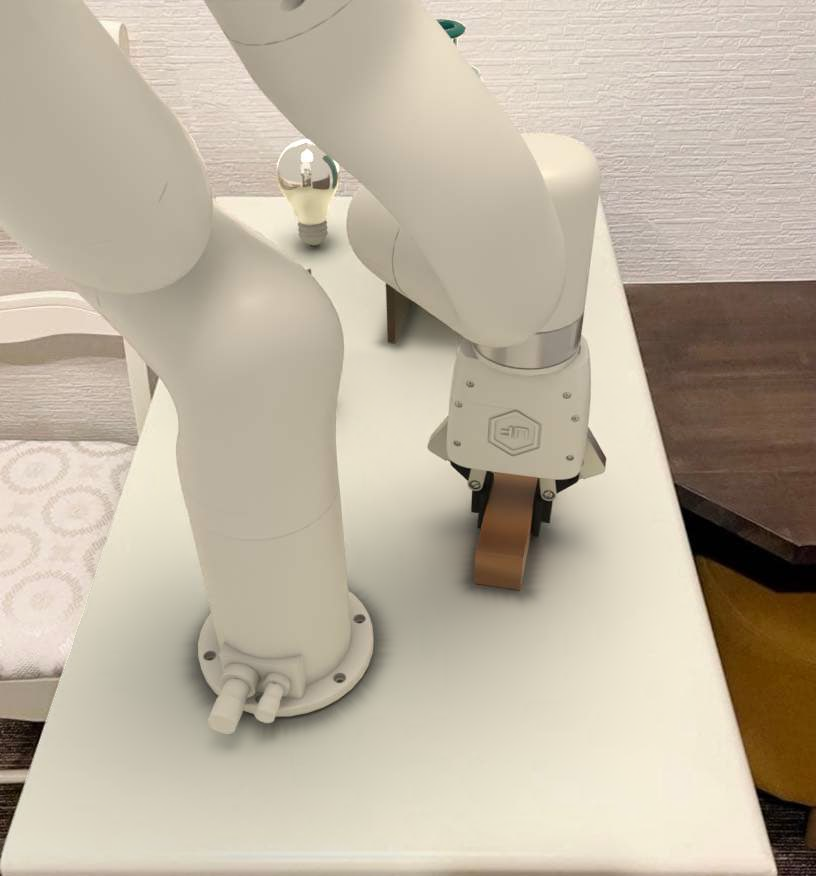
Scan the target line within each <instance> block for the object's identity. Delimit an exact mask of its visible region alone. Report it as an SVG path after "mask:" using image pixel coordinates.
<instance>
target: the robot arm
mask: <svg viewBox="0 0 816 876" xmlns="http://www.w3.org/2000/svg"><path fill="white" fill-rule="evenodd" d="M203 2H204V4H205V5H206V7H207V9H208V10H209V12H210V14H211V15H212V17H213V18H214V19H215V21H216V23H217V24H218V26H219V27H220V30H221V31H222V32H223V34H224V36H225V37H226V39H227V41H228V42H229V44H230V45H231V47H232V49H233V50H234V52H235V53H236V55H237V57H238V58H239V60H240V62H241V63H242V65H243V67H244V68H245V70H246V72H247V73H248V75H249V76H250V78H251V80H252V81H253V83H254V84H255V85H256V86H257V88H258V89H259V90H260V92H262V94H263V95H264V96H265V98H267V100H269V101H270V103H272V104H273V106H274V107H275V108H276V109H277V110H278V112H280V113H281V114H282V115H283V116H284V117H285V119H286V120H287V121H288V122H289V123H290V124H291V125H292V126H294V128H295V129H296V130H297V131H298V132H299V133H300V134H302V135H303V136H304V137H305V138H306V139H308V140H310V141H311V142H312V143H313V144H314V145H316V146H317V147H318V148H319V149H320V150H322V151H323V152H324V153H325V154H327V155H328V156H329V157H330V158H332V159H333V160H334V161H335V162H336V163H338V165H339V167H341V168H343V170H345V171H346V172H347V173H348V174H349V175H351V176H352V177H353V178H354V179H355V180H356V181H357V182H359V184H360V186H359V187H358V188H357V189H356V191H355V193H354V195H353V196H352V198H351V200H350V204H349V206H348V208H347V214H346V220H345V221H346V224H345V227H346V234H347V235H346V236H347V239H348V242H349V245H350V247H351V249H352V251H353V253H354V255H355V256H356V258H357V259H358V260H359V262H360V263H361V264H362V265H363V266H364V268H366V269H367V270H368V271H370V272H371V274H373V275H374V276H376V277H377V278H378V279H380V280H381V281H382V282H384V283H385V284H386V283H387V284H388V285H390V286H391V287H393V288H394V289H395V290H397V291H398V292H400V293H401V294H403V295H404V296H405V297H407V298H408V299H410V300H412V302H414V303H415V304H417V305H418V306H420V307H421V308H422V309H423V310H425V311H427V312H428V313H429V314H431V315H432V316H433V317H435V318H436V319H438V320H439V321H440V322H442V323H443V324H445V325H446V326H447V327H449V328H450V329H451V330H453V331H454V332H456V333H457V334H458V335H460V336H461V337H462V338H461V340H460V342H459V344H458V345H459V346H458V348H457V352H456V355H455V360H454V365H453V371H452V376H451V384H450V385H451V386H450V393H449V403H448V415H447V416H446V417H445V418H444V419H443V420H442V422H440V424H439V425H438V426H437V427H436V429H435V430H434V431H433V432H432V434H431V435H430V437H429V441H428V443H427V450H428V451H429V452H431V453H432V454H434V455H435V456H437V457H439V458H440V459H442V460H444V461H445V462H449V464H450V466H451V467H452V468H453V469H454V470H455V471H456V472H457V473H458V474H459V475H461V476H462V477H463V478H464V479H465V480H466V481H467V487H468V488H469V489H470V490H471V501H470V502H471V503H470V505H471V506H470V513H474V514H477V529H478V530H481V527H482V523H483V519H484V515H485V510H486V506H487V503H488V500H489V496H490V492H491V488H492V484H493V479H494V473H495V472H500V473H507V474H515V475H522V476H530V477H538V480H537V485H536V490H535V495H534V500H533V515H532V524H531V536H532V537H533V538H534V537H536V538H539V536H540V532H541V526H542V523H545V524H550V523H551V519H552V518H551V517H552V512H553V511H552V510H553V504H554V503H553V501H554V500H555V499H556V498H557V495H558V494H559V493H561V492H563V491H564V490H566V489H568V488H570V487H572V486H574V485H575V484H577V483H578V482H579V481H580V480H586V479H589V478H592V477H596V476H599V475H602V474H603V473H605V472H606V467H607V457H606V455H605V452H604V451H603V449H602V448H601V446H600V445H599V442H598V441H597V438H595V436H594V434H593V432H592V430H591V428H590V426H589V422H590V421H589V420H590V414H591V413H590V412H591V411H590V410H591V395H592V370H591V369H592V368H591V356H590V348H589V343H588V340H587V339H586V338H585V337H584V335H582V333H583V325H584V317H585V309H586V300H587V293H588V285H589V276H590V269H591V262H592V255H593V245H594V237H595V230H596V224H597V223H596V222H597V215H598V207H599V199H600V192H601V181H602V173H601V165H600V162H599V160H598V158H597V156H596V154H595V153H594V151H593V150H592V149H591V148H590V147H589V146H588V145H586V144H585V143H583V142H581V141H580V140H577V139H576V138H573V137H570V136H566V135H562V134H558V133H550V132H525V133H520V131H519V130H518V128H517V126H516V125H515V124H514V122H513V121H512V119H511V118H510V117H509V115H508V114H507V112H506V111H505V109H504V108H503V107H502V106H501V104H500V103H499V102H498V100H497V99H496V97H495V96H494V95H493V93H492V92H491V91H490V90H489V88H488V87H487V86H486V84H485V83H484V81H483V82H482V81H481V79H480V78H479V77H478V75H477V74H476V73H475V71H474V70H473V69H472V67H471V66H470V65H471V64H470V63H469V62H468V60H467V59H466V58H465V56H464V55H463V53H462V52H461V50H460V49H459V48H457V46H456V45H455V43H454V42H453V41H452V39H451V38H450V37H449V35H448V34H447V33H446V31H445V30H444V29H443V28H442V26H441V25H440V24H439V23H438V22H437V20H436V19H437V18H435V17H434V16H433V14H432V13H431V12H430V11H429V9H428V8H427V7H426V6H425V5H424V3H423V1H422V0H203ZM103 25H104V24H102V23H101V22H100V20H99V19H98V18H97V16H96V15H95V14H94V12H93V11H92V10H91V8H89V7H88V5H87V3H85V1H84V0H0V229H1V230H2V232H4V233H5V235H7V236H8V238H10V239H11V240H12V241H13V242H14V243H15V244H17V245H18V246H19V247H20V248H21V249H23V250H24V251H25V252H26V253H27V254H29V256H30V257H32V258H33V259H35V260H36V261H38V262H39V263H40V264H43V265H44V266H46V267H47V268H48V269H50V270H52V271H53V273H54V274H56V275H57V276H58V277H59V278H60V279H61V280H62V281H64V282H65V283H66V284H67V285H68V286H69V287H70V288H71V289H72V290H73V291H75V293H77V294H78V295H79V296H80V297H81V298H82V299H83V300H84V301H85V302H87V304H88V305H90V307H92V308H93V309H94V310H95V312H97V313H98V314H99V315H100V316H101V317H102V318H103V319H104V320H105V321H106V322H107V323H108V324H109V325H110V326H111V327H112V328H113V330H115V331H116V332H117V333H118V334H119V335H120V336H121V337H122V338H123V339H124V340H125V341H126V343H128V344H129V345H130V347H132V349H133V350H134V351H135V352H136V353H137V355H138V356H139V357H140V359H141V360H142V361H143V362H144V363H145V364H146V365H147V366H148V367H149V368H150V370H152V372H153V373H154V374H155V375H156V376H157V378H158V379H159V380H161V382H162V383H163V386H164V387H165V388H166V391H168V394H169V396H170V397H171V400H172V402H173V406H174V408H175V411H176V415H177V420H178V421H177V422H178V423H177V424H178V427H177V428H178V430H177V436H176V443H175V458H176V468H177V473H178V474H177V475H178V479H179V485H180V489H181V492H182V496H183V497H182V498H183V501H184V505H185V508H186V511H187V516H188V519H189V524H190V528H191V532H192V536H193V541H194V545H195V549H196V554H197V558H198V562H199V566H200V571H201V575H202V580H203V582H204V588H205V592H206V596H207V601H208V605H209V609H210V613H209V615H208V616H207V617H206V619H205V621H204V623H203V625H202V628H200V633H199V637H198V642H197V658H198V661H199V665H200V669H201V672H202V675H203V677H204V680H205V682H206V683H207V684H208V686H209V687H210V688H211V691H212V692H213V693H214V694H215V695H217V697H216V700H215V702H214V704H213V706H212V709H211V710H210V713H209V715H208V718H207V719H206V721H207V724H208V726H209V727H210V728H211V729H212V730H214V731H216V732H217V733H220V734H224V735H229V734H231V735H232V734H233V733H235V732H236V729H237V727H238V724H239V722H240V720H241V718H242V715H243V713H244V712H246V713H249V714H252V715H254V717H255V719H256V720H257V721H259V722H261V723H264V724H271V723H274V721H275V719H276V718H278V717H279V718H281V717H294V716H300V715H305V714H309V713H311V712H314V711H318V710H321V709H323V708H325V707H327V706H329V705H331V704H333V703H335V702H337V701H338V700H340V699H342V697H343V696H345V695H346V694H347V693H349V692H350V691H351V690H352V689H354V688H355V686H356V685H357V684H358V683H359V682H360V680H361V679H362V678H363V676H364V674H365V673H366V671H367V669H368V668H369V666H370V663H371V660H372V656H373V654H374V643H375V642H374V641H375V639H374V628H373V623H372V620H371V616H370V613H369V612H368V610H367V608H366V607H365V605H364V603H363V602H362V601H361V600H360V599H359V598H358V597H357V596H356V595H355V594H354V593H353V592H351V591H350V590H349V586H348V583H349V582H348V573H347V572H348V571H347V561H346V549H345V536H344V524H343V511H342V501H341V499H342V498H341V489H340V480H339V479H340V478H339V467H338V453H337V428H336V427H337V425H336V424H337V409H338V407H337V406H338V399H339V393H340V387H341V386H340V385H341V380H342V374H343V369H344V368H343V367H344V361H345V337H344V331H343V326H342V322H341V319H340V317H339V314H338V311H337V309H336V307H335V305H334V303H333V302H332V299H331V298H330V297H329V295H328V293H327V292H326V290H325V289H324V287H322V285H321V284H320V283H319V282H318V281H317V279H316V277H314V276H313V275H312V273H311V274H310V273H309V272H308V271H307V270H308V269H306V268H305V267H304V266H303V265H302V264H301V263H299V261H297V260H296V259H295V258H293V257H292V255H290V254H289V253H287V252H286V251H285V250H284V249H283V248H282V247H280V246H278V245H277V244H276V243H274V242H273V241H272V240H270V239H269V238H268V237H267V236H265V235H264V234H263V233H261V232H260V231H258V230H257V229H255V228H254V227H252V226H251V225H249V224H247V223H246V222H245V221H243V220H242V219H240V217H238V216H237V215H236V214H234V213H233V212H232V211H230V210H228V209H227V208H226V207H225V206H223V205H222V204H221V203H219V201H217V200H216V199H215V198H214V197H213V191H212V185H211V180H210V176H209V173H208V169H207V166H206V164H205V161H204V158H203V157H202V155H201V153H200V150H199V148H198V146H197V144H196V141H195V139H194V138H193V136H192V134H191V133H190V132H189V130H188V129H187V127H186V126H185V124H184V122H183V121H182V120H181V118H180V116H179V115H178V114H177V113H176V112H175V111H174V109H173V108H172V107H171V106H170V105H169V104H168V102H166V101H165V99H164V98H163V97H162V96H161V95H160V94H159V93H158V92H157V91H156V89H155V88H154V87H153V86H152V85H151V84H150V83H149V82H148V80H147V79H146V78H145V77H144V75H143V74H142V73H141V72H140V70H139V69H138V68H137V67H136V65H135V64H134V63H133V62H132V61H131V59H130V58H129V57H128V55H127V54H126V53H125V52H124V50H123V49H122V48H121V47H120V45H119V44H118V43H117V42H116V40H115V39H114V38H113V37H112V36H111V34H110V33H109V32H108V31H107V29H106V28H105V27H104V26H103Z"/></svg>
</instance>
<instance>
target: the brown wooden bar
mask: <svg viewBox="0 0 816 876" xmlns="http://www.w3.org/2000/svg"><path fill="white" fill-rule="evenodd" d="M537 480H538V477H530V476H522V475H515V474H507V473H500V472H494V479H493V484H492V488H491V492H490V496H489V500H488V503H487V506H486V510H485V515H484V519H483V523H482V527H481V529H480V531H479V535H478V539H477V544H476V547H475V556H474V557H475V558H474V575H473V576H474V577H473V583H474V584H475V585H480V586H481V585H482V586H489V587H495V588H503V589H509V590H516V591H521V589H522V583H523V578H524V573H525V568H526V563H527V558H528V552H529V548H530V547H529V546H530V541H531V536H532V534H531V524H532V515H533V500H534V495H535V490H536V485H537Z"/></svg>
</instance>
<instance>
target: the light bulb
mask: <svg viewBox="0 0 816 876" xmlns="http://www.w3.org/2000/svg"><path fill="white" fill-rule="evenodd" d="M340 179H341V172H340V165H339V164H338V163H336V162H335V161H334V160H333V159H332V158H330V157H329V156H328V155H327V154H325V153H324V152H323V151H322V150H320V149H319V148H318V147H317V146H316V145H314V144H313V143H312V142H311V141H310V140H308V139H307V138H306V139H305V138H304V139H299V140H296V141H295V142H292V143H290V144H289V145H288V146H287V147H286V148H285V149H284V150H283V151H282V153H281V155H280V157H279V158H278V161H277V164H276V181H277V185H278V188H279V189H280V192H281V193H282V194H283V196H284V197H285V199H286V200H287V201H288V203H289V204H290V206H291V207H292V210H293V214H294V217H295V219H296V221H297V226H298V236H299V237H298V238H300V239H301V240H302V241H303V242H304V243H305V244H307V245H309V247H311V248H316V247H319V246H320V244H322V243H323V242H325V240H326V238H327V237H328V234H329V231H328V221H327V218H328V217H329V212H330V205H331V202H332V200H333V199H334V197H335V195H336V192H337V191H338V188H339V185H340Z"/></svg>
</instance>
